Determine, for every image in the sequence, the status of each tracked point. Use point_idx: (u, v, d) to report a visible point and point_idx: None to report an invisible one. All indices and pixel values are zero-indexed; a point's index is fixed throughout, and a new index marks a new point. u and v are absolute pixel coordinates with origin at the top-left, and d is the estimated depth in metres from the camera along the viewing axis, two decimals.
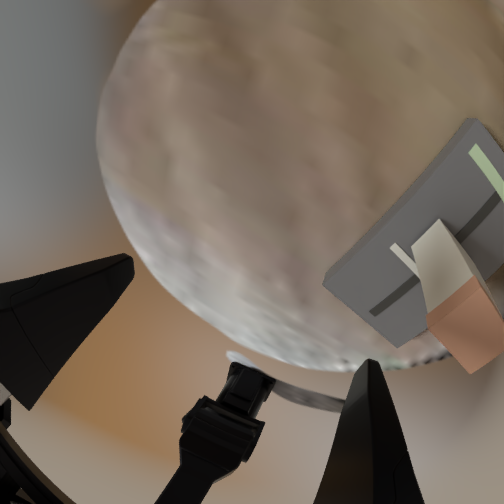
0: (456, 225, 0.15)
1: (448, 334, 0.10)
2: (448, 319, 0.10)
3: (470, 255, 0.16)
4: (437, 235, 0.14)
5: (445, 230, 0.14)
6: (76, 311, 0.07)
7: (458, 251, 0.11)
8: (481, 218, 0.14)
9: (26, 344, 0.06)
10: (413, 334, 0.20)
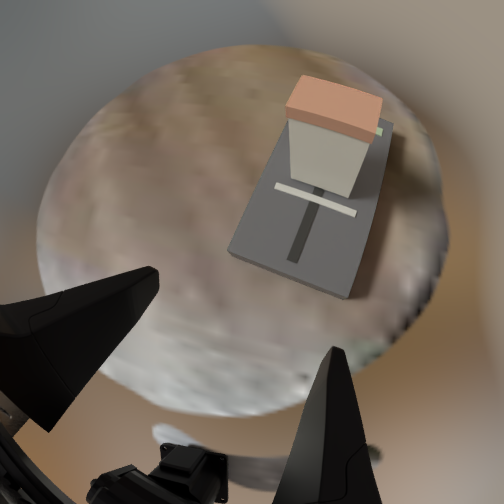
0: None
1: (307, 104, 0.13)
2: (296, 95, 0.14)
3: None
4: None
5: None
6: (100, 330, 0.07)
7: None
8: None
9: (47, 367, 0.05)
10: (353, 269, 0.20)
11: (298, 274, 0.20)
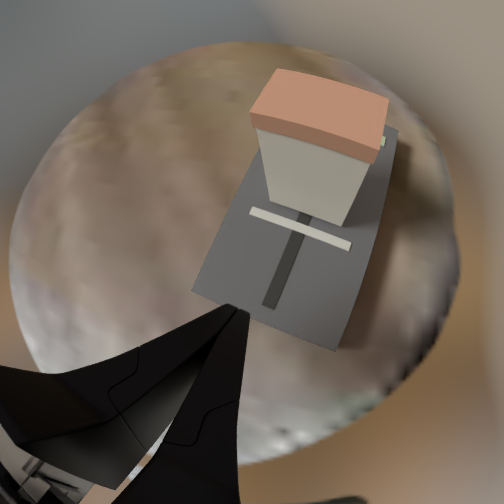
0: None
1: (281, 108, 0.10)
2: (265, 96, 0.10)
3: None
4: None
5: None
6: (184, 384, 0.07)
7: None
8: None
9: (129, 437, 0.05)
10: (344, 317, 0.16)
11: (275, 323, 0.16)
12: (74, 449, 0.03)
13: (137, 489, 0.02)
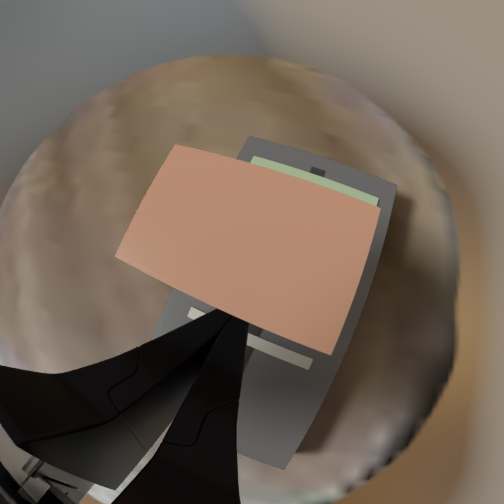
0: None
1: (160, 251, 0.06)
2: (142, 219, 0.06)
3: None
4: None
5: None
6: (184, 384, 0.07)
7: None
8: None
9: (129, 437, 0.05)
10: (295, 439, 0.12)
11: None
12: (74, 450, 0.03)
13: (137, 489, 0.02)
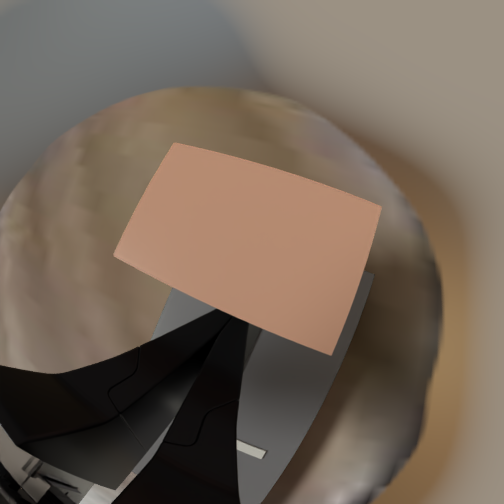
0: None
1: (158, 250, 0.06)
2: (140, 218, 0.06)
3: (267, 384, 0.13)
4: None
5: None
6: (184, 384, 0.07)
7: None
8: (258, 328, 0.14)
9: (129, 438, 0.05)
10: None
11: None
12: (74, 450, 0.03)
13: (137, 489, 0.02)
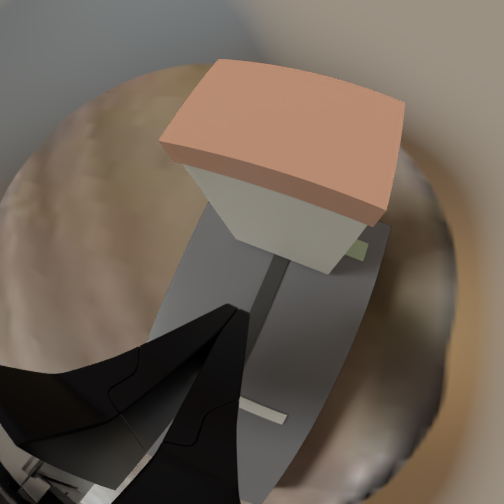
0: (241, 305, 0.14)
1: (209, 129, 0.06)
2: (189, 109, 0.06)
3: (289, 337, 0.13)
4: None
5: None
6: (184, 384, 0.07)
7: None
8: (278, 278, 0.14)
9: (129, 437, 0.05)
10: (270, 482, 0.11)
11: None
12: (74, 450, 0.03)
13: (137, 489, 0.02)
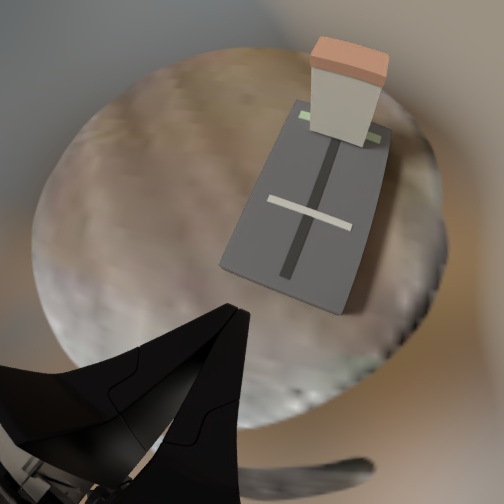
0: (316, 162, 0.22)
1: (328, 54, 0.14)
2: (317, 49, 0.14)
3: (346, 178, 0.21)
4: None
5: None
6: (184, 384, 0.07)
7: None
8: (335, 149, 0.22)
9: (129, 437, 0.05)
10: (347, 285, 0.19)
11: (291, 291, 0.20)
12: (74, 450, 0.03)
13: (137, 489, 0.02)
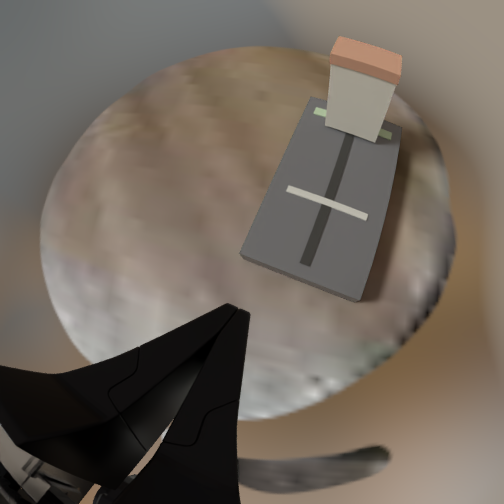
0: (332, 155, 0.23)
1: (347, 53, 0.15)
2: (337, 47, 0.15)
3: (360, 171, 0.22)
4: None
5: None
6: (184, 384, 0.07)
7: None
8: (349, 144, 0.23)
9: (129, 437, 0.05)
10: (365, 272, 0.20)
11: (311, 277, 0.20)
12: (74, 450, 0.03)
13: (137, 489, 0.02)
